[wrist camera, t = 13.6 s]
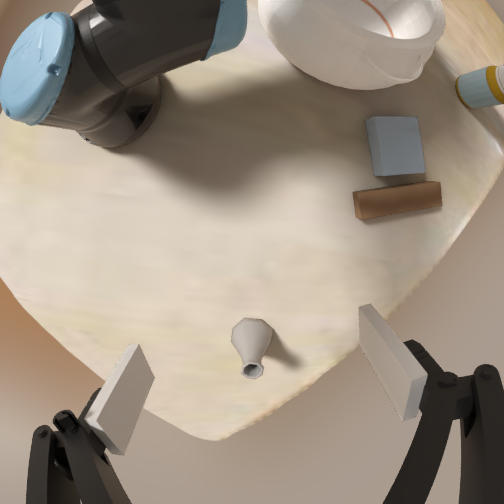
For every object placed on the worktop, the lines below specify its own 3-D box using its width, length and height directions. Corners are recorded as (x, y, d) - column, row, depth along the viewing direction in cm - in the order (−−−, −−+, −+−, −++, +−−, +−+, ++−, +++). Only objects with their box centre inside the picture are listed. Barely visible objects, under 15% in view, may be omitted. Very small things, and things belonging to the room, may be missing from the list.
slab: (372, 175, 41) (364, 120, 38) (412, 172, 40) (404, 120, 38) (383, 176, 37) (374, 116, 35) (425, 172, 37) (417, 116, 34)
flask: (280, 326, 47) (286, 361, 38) (261, 356, 49) (263, 394, 39) (241, 310, 46) (240, 344, 37) (224, 342, 48) (219, 378, 39)
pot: (425, 102, 37) (486, 84, 21) (281, 114, 38) (300, 80, 22) (374, -22, 29) (407, -64, 13) (239, -21, 31) (236, -79, 15)
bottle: (453, 100, 36) (507, 88, 22) (453, 70, 34) (503, 53, 20) (477, 114, 36) (529, 108, 22) (476, 85, 35) (525, 74, 20)
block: (352, 192, 41) (358, 193, 39) (432, 181, 40) (440, 182, 38) (355, 217, 42) (361, 219, 40) (434, 203, 42) (442, 205, 39)
